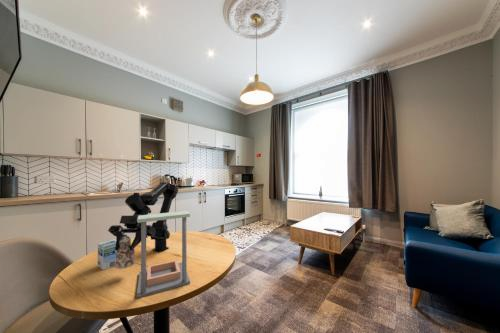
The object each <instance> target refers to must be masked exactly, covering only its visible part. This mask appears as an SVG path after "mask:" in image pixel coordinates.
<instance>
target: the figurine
mask: <svg viewBox="0 0 500 333" xmlns="http://www.w3.org/2000/svg"><path fill="white" fill-rule="evenodd" d="M131 240H132V238H131V237H130V236H129V235H127V234H125V235H124V237H122V238H121V239H120V242H119V243H120V247H119V249H118V250H117V253H116V261H115V266H114V268H116V269H119V270H123V269H128V268H129V267H133V266H134V265H135V264H136V253H135V252H136V251H135V248H134V249H133V250H132V251H130V247H131V244H132V242H131Z"/></svg>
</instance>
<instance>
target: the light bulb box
mask: <svg viewBox="0 0 500 333" xmlns="http://www.w3.org/2000/svg"><path fill="white" fill-rule="evenodd" d="M115 247H116V238H114V239H111V240H107V241H103V242H100V243H97V267H98V268H99V267H100V268H99V269H101V270H103V271H104V270H107V269H110V268H112V267H115V261H116V253H117V251H116V250H115Z"/></svg>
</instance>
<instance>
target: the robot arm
mask: <svg viewBox="0 0 500 333" xmlns="http://www.w3.org/2000/svg"><path fill="white" fill-rule="evenodd" d="M178 193H179V188H178V186H176V185H175V184H172V183H170V182H168V181H163V182H160V183H159V184H158V185H157V186H156V187H154V188H152V190H151V191H148V192H145V193H142V194H140V193H139V192H133V194H131V195H129V196H128V197H126V199H125V201H124V202H125V205H127V206H128V207H129V209H130V210H131V211H132V212H134V213H133V215H121V217H120V220H119V224H118V225H117V224H116V225H110V227H109V228H108V230H107V232H109V233H110V234H111V235H113V237H116V238H115V239H116V247H115V250H116V251H117V250H118V249H119V247H120V243H119V242H120V239H121V238H122V237H124V235H126V234H135V236H134V238H133V241H132V242H131V244H130V245H131V247H130V251H132V250H133V249H134V250H135V248H136V247H137V246H138V245H139V244H141V222H140V223H137V219H138V216H139V215H149V214H152V209H151V208H150V207H149V206H155V204H156V203H157V202H158V201H159V199H158V198H159V197H160V196H162V195H163V200H162V205H161V208H160V211H159V213H169V212H170V210H171V206H172V203H173V201H174V199H175V198H176V197H177V195H178ZM167 220H168V219H166V220H158V221H152V225H150V224H146V239H147V238H148V237H150V240H152V241H154V248H151V250H152V251H154V252H156V253H160V252H163V251H166V250H168V249H170V247H169V246H167V240H169V239H170V237H171V233H170V231H169V230H168V229H169V227H168V224H167ZM121 224H123V226H124V227H125V228H124V227H123V226H122V225H121Z"/></svg>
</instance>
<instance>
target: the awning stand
mask: <svg viewBox="0 0 500 333" xmlns="http://www.w3.org/2000/svg"><path fill="white" fill-rule="evenodd" d="M190 217H191V213H190V212H189V211H188V210H182V211H171V212H170V211H169V213H160V212H159V213H148V215H139V216H138V219H137V223H140V222H141V242H140V271H139V274H138V275H139V276H138V283H137V291H136V299H139V298H143V297H146V296H147V297H148V296H149V295H153V294H158V293H161V292H165V291H168V290H171V289H175V288H178V287H182V286H186V285H189V284H191V280H190V277H189V274H188V271H187V265H188V264H187V260H188V258H187V255H188V254H187V251H188V250H187V218H190ZM166 219H167V220H172V219H173V220H174V219H181V224H182V225H181V227H182V229H181V231H182V232H181V236H182V237H181V239H182V240H181V241H182V242H181V243H182V244H181V245H182V246H181V252H182V253H181V262H179V261H178V260H177V259H175V260H170V261H165V262H161V263H156V264H152V265H151V264H150V265H148V266H147V238H146V225H147V222H148V223H149V222H156V221H158V220H166Z"/></svg>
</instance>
